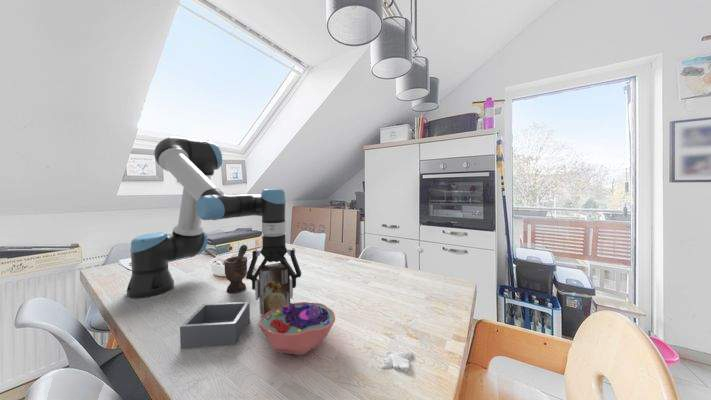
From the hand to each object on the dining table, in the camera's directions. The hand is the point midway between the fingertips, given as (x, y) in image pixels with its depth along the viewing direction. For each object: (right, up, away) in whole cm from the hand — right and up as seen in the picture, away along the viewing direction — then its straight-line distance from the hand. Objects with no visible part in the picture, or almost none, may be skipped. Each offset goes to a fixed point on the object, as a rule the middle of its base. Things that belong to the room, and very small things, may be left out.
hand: (274, 297), depth 86 cm
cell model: (+12, -6, -18) cm, 23 cm away
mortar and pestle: (-20, -4, +18) cm, 27 cm away
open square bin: (-13, -6, -12) cm, 18 cm away
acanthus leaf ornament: (+38, -7, -24) cm, 46 cm away
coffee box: (0, -5, 0) cm, 5 cm away
